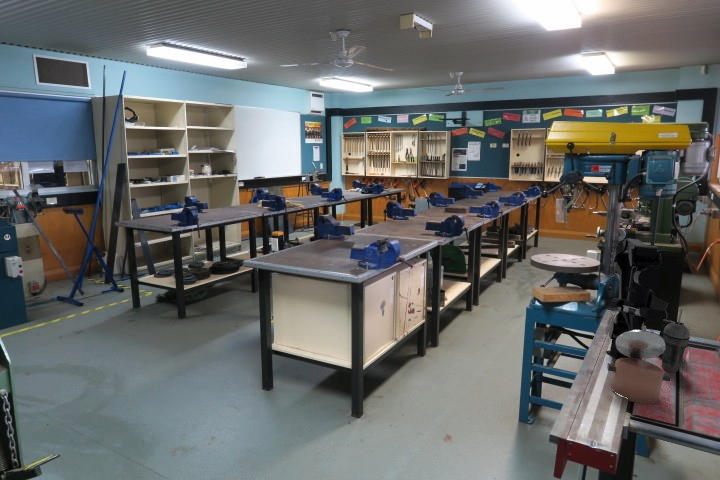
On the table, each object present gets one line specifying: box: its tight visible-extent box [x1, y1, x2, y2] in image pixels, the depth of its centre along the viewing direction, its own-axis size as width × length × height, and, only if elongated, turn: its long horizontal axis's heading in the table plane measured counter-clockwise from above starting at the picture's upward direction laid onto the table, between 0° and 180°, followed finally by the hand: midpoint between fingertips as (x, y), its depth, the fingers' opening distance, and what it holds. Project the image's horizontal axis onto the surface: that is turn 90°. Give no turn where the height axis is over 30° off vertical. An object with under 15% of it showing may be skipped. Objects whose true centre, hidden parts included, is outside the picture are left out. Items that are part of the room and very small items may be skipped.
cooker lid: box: [616, 329, 666, 360], centre depth 138 cm, size 12×12×2 cm
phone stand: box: [658, 318, 685, 358], centre depth 163 cm, size 9×6×12 cm, turn 138°
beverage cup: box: [661, 308, 691, 373], centre depth 151 cm, size 7×7×20 cm
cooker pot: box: [606, 357, 672, 405], centre depth 137 cm, size 13×16×8 cm
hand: (633, 336), depth 146 cm, fingers closed
